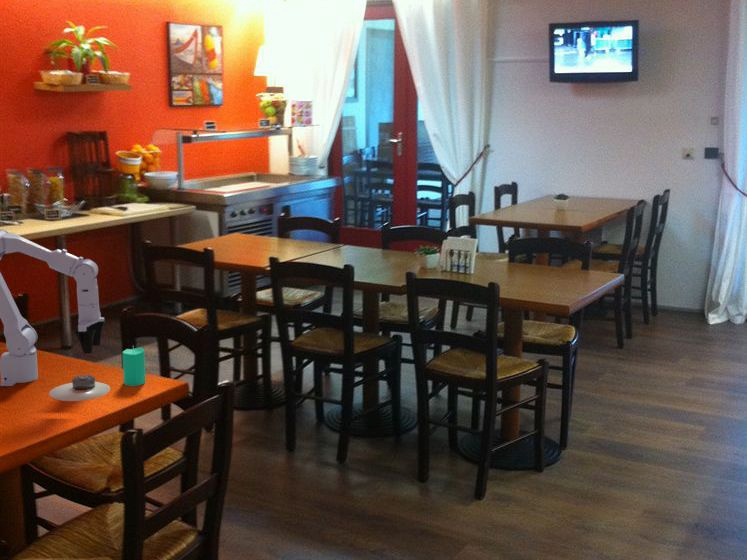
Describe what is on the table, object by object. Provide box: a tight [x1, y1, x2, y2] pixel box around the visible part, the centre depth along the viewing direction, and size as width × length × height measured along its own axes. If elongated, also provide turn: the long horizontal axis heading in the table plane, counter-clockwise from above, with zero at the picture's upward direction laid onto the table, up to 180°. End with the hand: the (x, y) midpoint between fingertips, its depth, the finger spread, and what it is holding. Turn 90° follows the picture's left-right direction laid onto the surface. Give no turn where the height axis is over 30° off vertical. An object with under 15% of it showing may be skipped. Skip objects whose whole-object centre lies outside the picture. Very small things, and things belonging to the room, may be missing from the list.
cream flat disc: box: [48, 381, 111, 402], centre depth 247 cm, size 16×16×1 cm
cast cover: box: [71, 374, 96, 390], centre depth 250 cm, size 6×6×3 cm
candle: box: [122, 346, 146, 387], centre depth 254 cm, size 6×6×12 cm
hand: (91, 349), depth 257 cm, fingers open, 7 cm apart
